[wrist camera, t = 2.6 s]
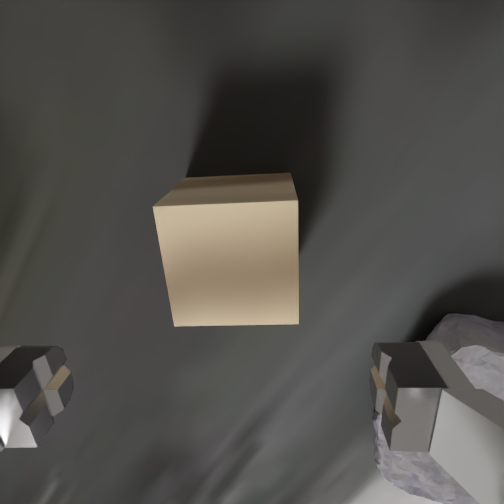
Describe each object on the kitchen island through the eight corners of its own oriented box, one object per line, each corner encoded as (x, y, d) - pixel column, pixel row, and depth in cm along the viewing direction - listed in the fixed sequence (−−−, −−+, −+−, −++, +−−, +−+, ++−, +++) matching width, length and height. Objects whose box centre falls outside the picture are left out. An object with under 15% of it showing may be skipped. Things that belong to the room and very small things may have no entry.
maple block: (185, 177, 16) (152, 206, 12) (290, 172, 16) (298, 200, 11) (198, 270, 18) (174, 326, 14) (291, 267, 18) (298, 324, 13)
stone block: (358, 426, 25) (510, 466, 23) (361, 491, 21) (549, 546, 19) (397, 282, 21) (590, 315, 19) (411, 325, 16) (665, 375, 14)
